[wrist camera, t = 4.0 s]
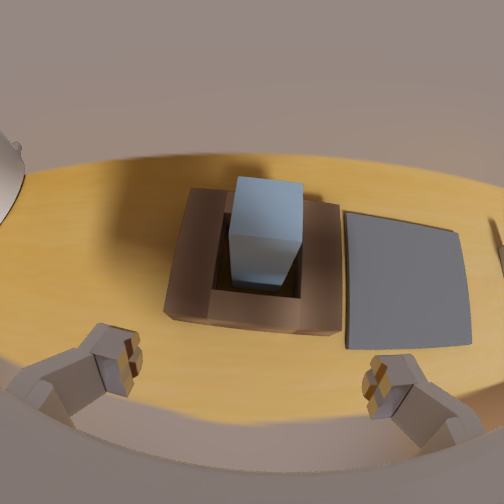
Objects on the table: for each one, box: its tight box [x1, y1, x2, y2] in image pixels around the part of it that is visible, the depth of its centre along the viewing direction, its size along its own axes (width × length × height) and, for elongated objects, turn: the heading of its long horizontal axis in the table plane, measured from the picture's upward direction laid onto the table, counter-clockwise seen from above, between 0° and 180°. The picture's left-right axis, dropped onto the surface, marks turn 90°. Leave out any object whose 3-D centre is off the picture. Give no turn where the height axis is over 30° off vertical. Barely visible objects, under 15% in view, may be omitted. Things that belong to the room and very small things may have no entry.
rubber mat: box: [344, 212, 472, 350], centre depth 22 cm, size 14×12×1 cm
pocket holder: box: [163, 188, 342, 336], centre depth 21 cm, size 12×10×3 cm
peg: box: [229, 176, 303, 292], centre depth 19 cm, size 4×4×9 cm
